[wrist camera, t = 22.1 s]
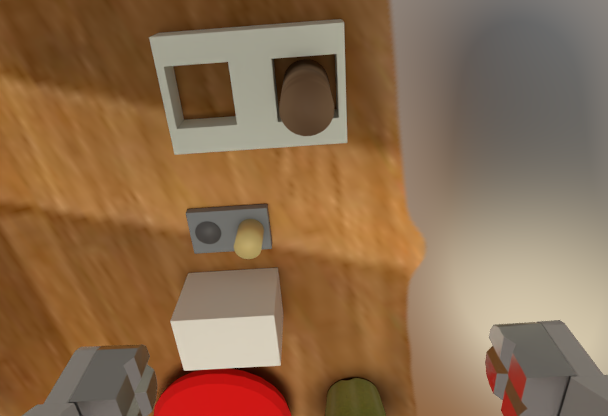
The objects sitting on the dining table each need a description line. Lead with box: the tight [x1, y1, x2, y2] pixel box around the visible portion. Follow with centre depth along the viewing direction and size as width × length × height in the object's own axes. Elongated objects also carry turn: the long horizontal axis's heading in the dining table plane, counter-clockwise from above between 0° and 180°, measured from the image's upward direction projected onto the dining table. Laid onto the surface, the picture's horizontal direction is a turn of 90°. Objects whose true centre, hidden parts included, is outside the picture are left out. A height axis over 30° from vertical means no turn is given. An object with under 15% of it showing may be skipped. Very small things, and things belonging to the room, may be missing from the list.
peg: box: [279, 59, 334, 136], centre depth 33 cm, size 4×4×8 cm
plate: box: [186, 204, 272, 259], centre depth 41 cm, size 7×4×4 cm, turn 94°
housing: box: [170, 268, 283, 371], centre depth 43 cm, size 9×6×7 cm, turn 94°
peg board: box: [149, 19, 347, 155], centre depth 35 cm, size 14×9×2 cm, turn 94°
